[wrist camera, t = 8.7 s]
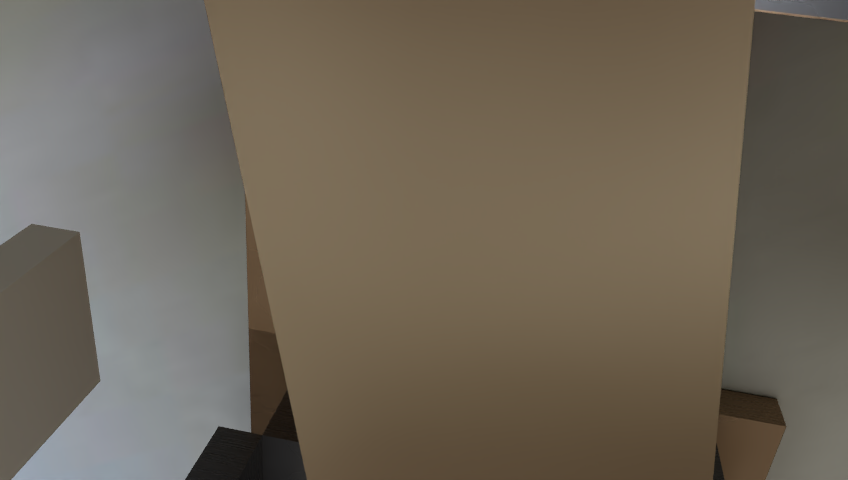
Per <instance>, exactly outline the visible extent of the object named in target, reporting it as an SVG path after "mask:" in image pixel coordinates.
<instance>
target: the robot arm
mask: <svg viewBox="0 0 848 480" xmlns="http://www.w3.org/2000/svg"><path fill="white" fill-rule="evenodd" d="M99 382H100V375H99V368H98V361H97V354H96V347H95V339H94V332H93V325H92V318H91V311H90V304H89V297H88V289H87V282H86V275H85V268H84V261H83V254H82V247H81V239H80V232H76V231H70V230H64V229H58V228H53V227H47V226H41V225H35V224H31V225H29V226H28V227H27V228H25V229H24V230H22V231H21V232H19V233H18V234H16V235H15V236H13V237H12V238H11V239H9V240H8V241H6V242H5V243H3V244H2V245H0V480H11V479H12V478H13V477H14V476H15V475H16V474H17V472H18V471H19V470H20V469H21V468H22V467H23V466H24V465H25V464H26V462H27V461H28V460H29V459H30V458H31V457H32V456H33V455H34V454H35V453H36V451H37V450H38V449H39V448H40V447H41V446H42V445H43V444H44V443H45V441H46V440H47V439H48V438H49V437H50V436H51V435H52V434H53V433H54V431H55V430H56V429H57V428H58V427H59V426H60V425H61V424H62V423H63V422H64V420H65V419H66V418H67V417H68V416H69V415H70V414H71V413H72V412H73V410H74V409H75V408H76V407H77V406H78V405H79V404H80V403H81V402H82V401H83V399H84V398H85V397H86V396H87V395H88V394H89V393H90V392H91V391H92V389H93V388H94V387H95V386H96V385H97V384H98V383H99Z"/></svg>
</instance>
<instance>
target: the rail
mask: <svg viewBox="0 0 848 480" xmlns="http://www.w3.org/2000/svg"><path fill="white" fill-rule="evenodd" d="M204 3H205V8H206V12H207V17H208V22H209V26H210V31H211V36H212V40H213V45H214V50H215V54H216V59H217V63H218V68H219V73H220V77H221V82H222V87H223V91H224V96H225V101H226V105H227V110H228V115H229V119H230V124H231V129H232V133H233V138H234V143H235V147H236V152H237V156H238V161H239V166H240V170H241V175H242V180H243V184H244V189H245V194H246V198H247V203H248V208H249V212H250V217H251V222H252V226H253V231H254V236H255V240H256V245H257V250H258V254H259V259H260V263H261V268H262V273H263V277H264V282H265V287H266V291H267V296H268V301H269V305H270V310H271V315H272V319H273V324H274V329H275V333H276V338H277V343H278V347H279V352H280V356H281V361H282V366H283V370H284V375H285V380H286V384H287V389H288V394H289V398H290V403H291V408H292V412H293V417H294V422H295V426H296V431H297V436H298V440H299V445H300V450H301V454H302V459H303V463H304V468H305V473H306V477H307V480H713V474H714V462H715V451H716V440H717V428H718V417H719V406H720V394H721V383H722V372H723V361H724V349H725V338H726V327H727V315H728V304H729V293H730V281H731V270H732V259H733V247H734V236H735V225H736V213H737V202H738V191H739V179H740V168H741V157H742V146H743V134H744V123H745V112H746V100H747V89H748V78H749V66H750V55H751V44H752V32H753V21H754V10H755V0H204Z"/></svg>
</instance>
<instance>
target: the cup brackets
mask: <svg viewBox="0 0 848 480" xmlns="http://www.w3.org/2000/svg"><path fill="white" fill-rule="evenodd" d="M754 11H757V12H766V13H774V14H782V15H791V16H799V17H807V18H816V19H824V20H833V21H841V22H848V0H755V10H754ZM245 202H246V241H247V280H248V319H249V358H250V397H251V433H249V432H244V431H239V430H234V429H229V428H224V427H218V428H217V430H216V431H215V433H214V435H213V436H212V438H211V439H210V441H209V443H208V444H207V446H206V447H205V449H204V451H203V452H202V454H201V455H200V457H199V458H198V460H197V462H196V463H195V465H194V466H193V468H192V470H191V471H190V473H189V474H188V476H187V478H186V479H185V480H307V477H306V473H305V468H304V463H303V459H302V454H301V450H300V445H299V440H298V436H297V431H296V426H295V422H294V417H293V412H292V408H291V403H290V398H289V394H288V389H287V384H286V380H285V375H284V370H283V366H282V361H281V356H280V352H279V347H278V343H277V338H276V333H275V329H274V324H273V319H272V315H271V310H270V305H269V301H268V296H267V291H266V287H265V282H264V277H263V273H262V268H261V263H260V259H259V254H258V250H257V245H256V240H255V236H254V231H253V226H252V222H251V217H250V212H249V208H248V203H247V198H246V194H245ZM785 429H786V424H785V421H784V418H783V415H782V413H781V410H780V407H779V404H778V401H777V399H772V398H767V397H761V396H756V395H750V394H745V393H739V392H733V391H728V390H722V389H721V394H720V406H719V417H718V428H717V440H716V451H715V462H714V474H713V480H765V479H766V477H767V474H768V472H769V469H770V467H771V464H772V461H773V459H774V456H775V454H776V451H777V449H778V446H779V444H780V441H781V439H782V436H783V434H784V431H785Z"/></svg>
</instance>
